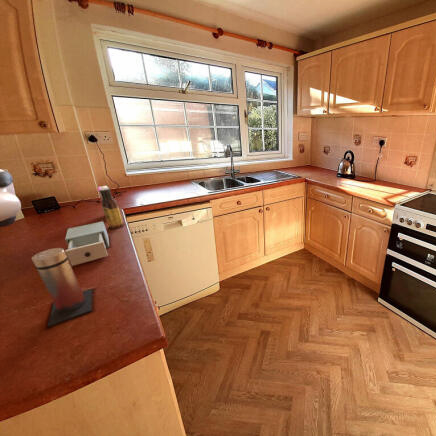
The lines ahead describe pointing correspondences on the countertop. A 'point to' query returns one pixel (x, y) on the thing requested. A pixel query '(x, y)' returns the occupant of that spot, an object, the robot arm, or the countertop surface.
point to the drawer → (86, 249)
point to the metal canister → (59, 279)
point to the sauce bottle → (111, 209)
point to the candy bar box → (99, 190)
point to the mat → (61, 317)
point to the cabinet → (87, 232)
